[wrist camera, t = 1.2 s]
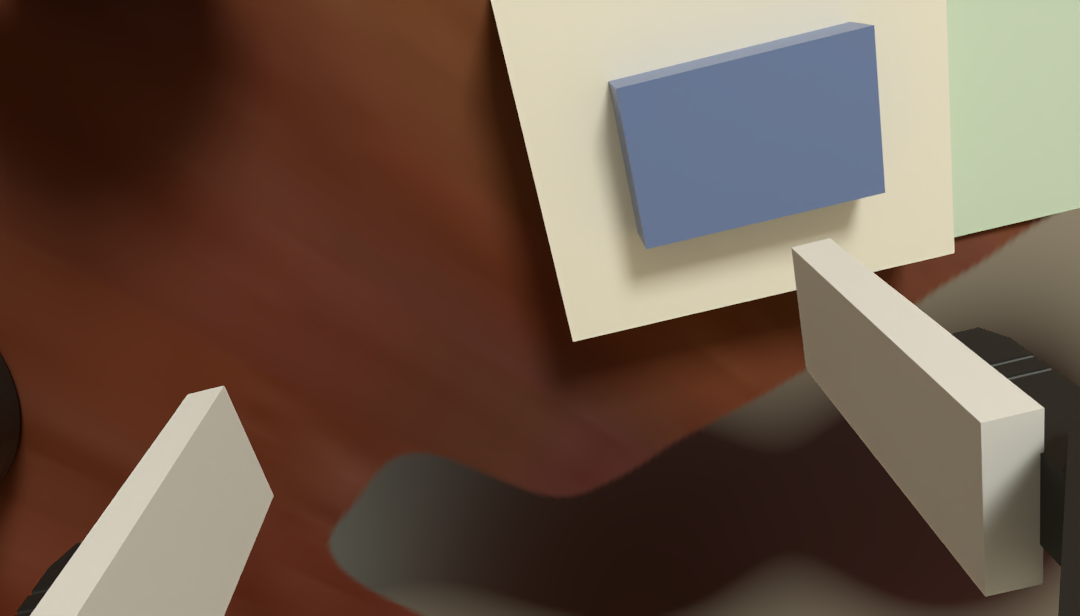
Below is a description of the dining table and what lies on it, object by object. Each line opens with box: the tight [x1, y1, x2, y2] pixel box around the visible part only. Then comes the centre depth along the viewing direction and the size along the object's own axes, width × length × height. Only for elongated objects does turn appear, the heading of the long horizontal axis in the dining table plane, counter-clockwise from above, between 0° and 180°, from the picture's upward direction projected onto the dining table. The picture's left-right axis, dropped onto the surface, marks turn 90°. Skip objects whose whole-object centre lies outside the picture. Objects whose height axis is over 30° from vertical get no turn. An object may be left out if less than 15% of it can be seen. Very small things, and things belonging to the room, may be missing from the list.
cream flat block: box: [491, 0, 954, 342], centre depth 33 cm, size 16×14×4 cm
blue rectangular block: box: [608, 22, 885, 249], centre depth 30 cm, size 9×6×2 cm, turn 103°
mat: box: [946, 0, 1080, 237], centre depth 34 cm, size 12×16×1 cm
